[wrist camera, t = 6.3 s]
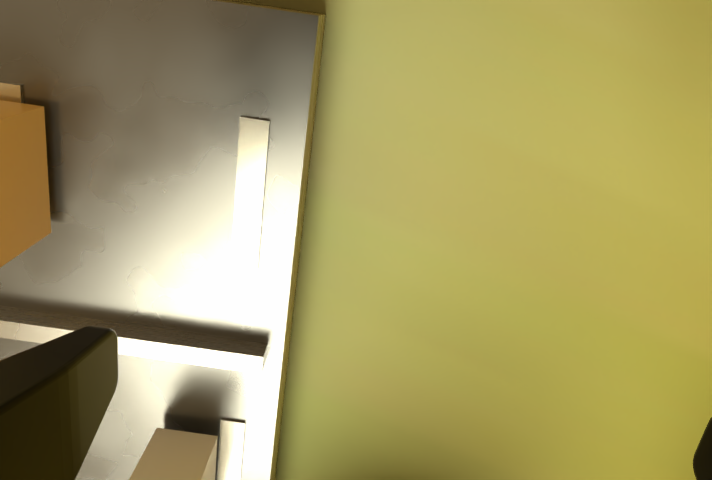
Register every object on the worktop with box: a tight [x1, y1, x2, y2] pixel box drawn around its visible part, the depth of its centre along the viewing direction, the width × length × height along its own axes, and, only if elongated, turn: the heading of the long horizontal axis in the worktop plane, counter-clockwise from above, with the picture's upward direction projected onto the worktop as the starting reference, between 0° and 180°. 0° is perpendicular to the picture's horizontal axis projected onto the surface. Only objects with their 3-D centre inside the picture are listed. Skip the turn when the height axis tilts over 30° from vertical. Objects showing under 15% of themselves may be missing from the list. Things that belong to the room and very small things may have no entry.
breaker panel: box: [0, 0, 326, 480], centre depth 19 cm, size 12×20×3 cm, turn 172°
